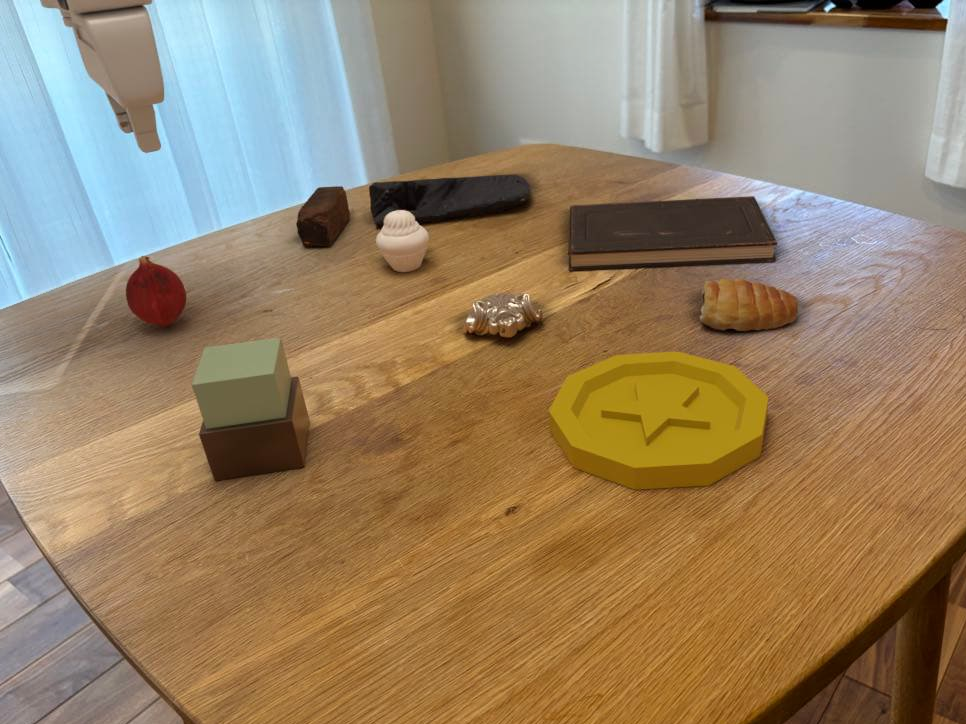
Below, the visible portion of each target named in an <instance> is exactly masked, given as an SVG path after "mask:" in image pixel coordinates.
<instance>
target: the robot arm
mask: <svg viewBox="0 0 966 724" xmlns="http://www.w3.org/2000/svg"><path fill="white" fill-rule="evenodd" d="M39 2H40V5H41V6H42V7H43V8H45V9H57V10H59V12H60V15H61V16H62V21H63V24H64V26H66V27H67V28H72V32H73V35H74V38H75V41H76V45H77V48H78V51H79V53H80V57H81V61H82V63H83V66H84V69H85V70H86V73H87V75H88V77H89V78H90V79H91V80H92V81H94V82H95V84H97V85H98V87H100V88H101V89H102V90H104V94H105V96H106V98H107V100H108V102H109V105H110V106H111V109H112V111H113V113H114V116H115V119H116V122H117V126H118V128H119V129H120V131H122V132H123V133H124V134H132V133H133V136H134V139H135V141H136V146H137V147H138V149H139V150H140V151H141V152H142V153H145V154H149V153H154V152H158V151H160V150H161V148H162V144H161V140H160V136H159V134H158V129H157V119H156V110H155V109H154V108H155V107H154V105H157V104H161V103H163V102H164V101H165V84H164V77H163V76H164V75H163V72H162V67H161V61H160V57H159V52H158V48H157V43H156V39H155V34H154V29H153V25H152V21H151V17H150V15H149V11H148V9H147V7H146V6H149V5H152V3H153V0H39Z"/></svg>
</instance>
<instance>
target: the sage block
mask: <svg viewBox="0 0 966 724" xmlns="http://www.w3.org/2000/svg"><path fill="white" fill-rule="evenodd" d="M291 377H292V376H291V371H290V367H289V363H288V360H287V356H286V352H285V347H284V344H283V340H282V337H280V336H279V337H271V338H265V339H258V340H251V341H243V342H242V341H241V342H236V343H228V344H220V345H213V346H206V347H204V349H203V351H202V354H201V357H200V359H199V362H198V365H197V367H196V371H195V373H194V376H193V380H192V382H191V388H192V391H193V393H194V396H195V400H196V402H197V405H198V409H199V411H200V414H201V418H202V422H203V421H204V424H205V427H206V429H211V428H218V427H225V426H231V425H238V424H245V423H252V422H259V421H266V420H273V419H280V418H285V417H286V412H287V406H288V399H289V393H290V387H291V380H292V379H291Z"/></svg>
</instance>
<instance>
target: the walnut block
mask: <svg viewBox="0 0 966 724" xmlns="http://www.w3.org/2000/svg"><path fill="white" fill-rule="evenodd" d="M291 379H292V380H291V387H290V393H289V399H288V406H287V412H286V417H285V418H280V419H273V420H266V421H259V422H252V423H245V424H238V425H231V426H225V427H218V428H211V429H206V427H205V424H204V421H203V420H202V422H201V426H200V429H199V432H198V436H199V439H200V442H201V445H202V448H203V451H204V454H205V456H206V460H207V462H208V466H209V468H210V472H211V475H212V478H213V480H214V482H217V481H223V480H229V479H236V478H242V477H250V476H256V475H257V476H258V475H262V474H270V473H275V472H276V473H277V472H283V471H289V470H295V469H302V468H305V465H306V457H307V447H308V440H309V439H308V437H309V429H310V421H311V420H310V417H309V412H308V409H307V405H306V404H307V403H306V401H305V397H304V393H303V390H302V389H303V388H302V385H301V381H300V377H299V376H298V375H297V376H291Z"/></svg>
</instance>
